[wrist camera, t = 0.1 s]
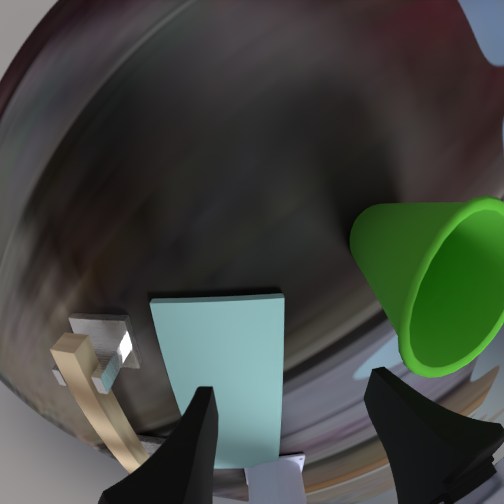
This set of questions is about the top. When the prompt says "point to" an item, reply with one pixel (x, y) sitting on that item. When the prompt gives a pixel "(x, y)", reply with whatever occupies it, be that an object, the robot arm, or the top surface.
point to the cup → (435, 277)
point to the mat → (229, 367)
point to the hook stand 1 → (106, 346)
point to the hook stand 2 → (150, 443)
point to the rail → (97, 399)
